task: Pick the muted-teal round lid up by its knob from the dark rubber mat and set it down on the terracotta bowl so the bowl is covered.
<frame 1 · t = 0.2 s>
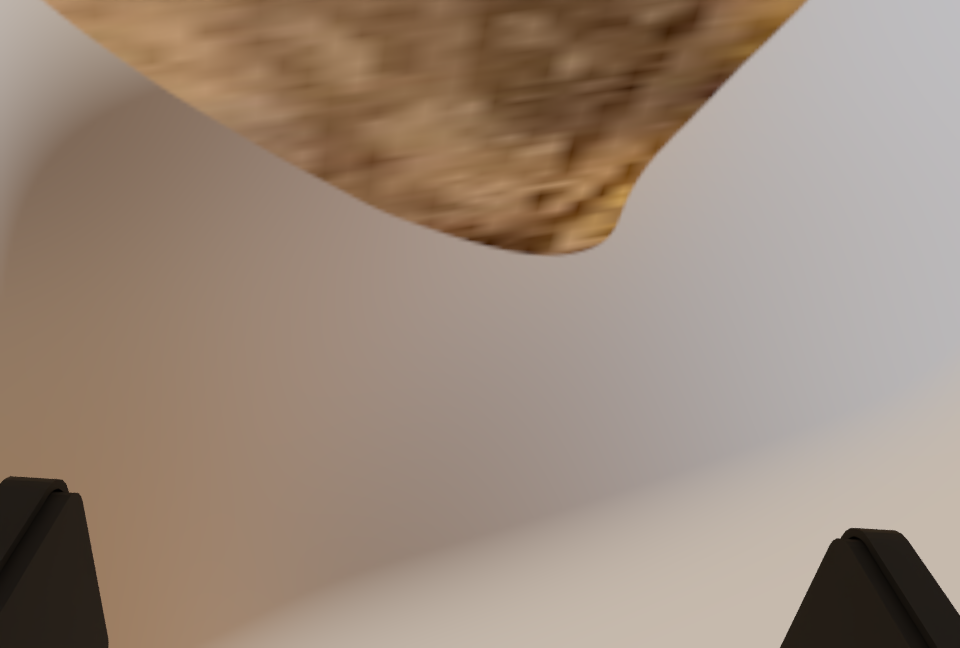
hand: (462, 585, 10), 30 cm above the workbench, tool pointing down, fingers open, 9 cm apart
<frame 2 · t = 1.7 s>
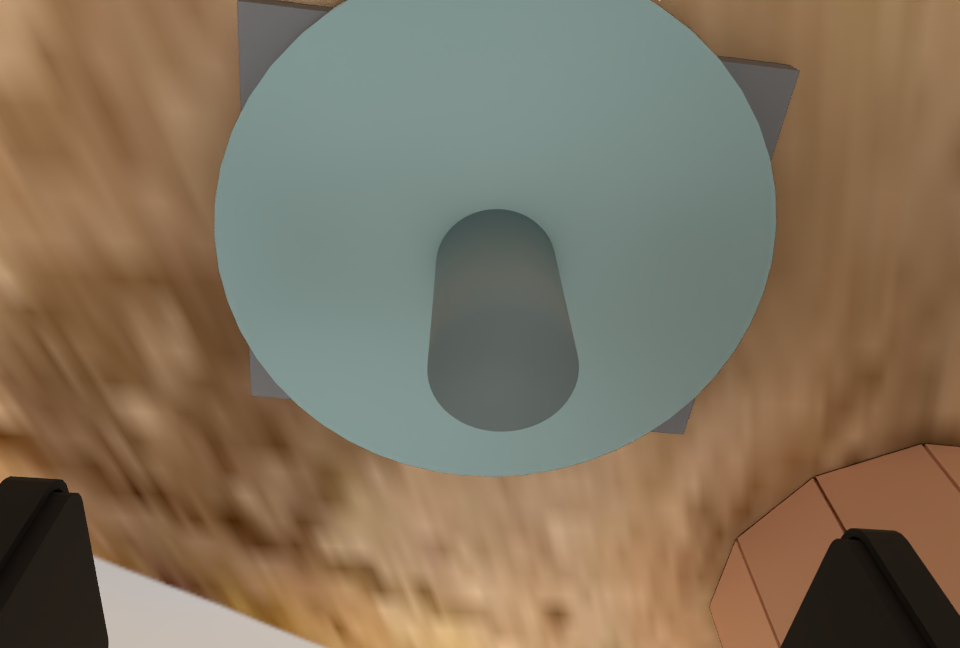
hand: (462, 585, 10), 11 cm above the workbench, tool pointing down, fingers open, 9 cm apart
mat: (494, 241, 19), on the workbench
lid: (494, 250, 19), point 1 cm above the workbench, touching mat
bowl: (896, 587, 26), on the workbench
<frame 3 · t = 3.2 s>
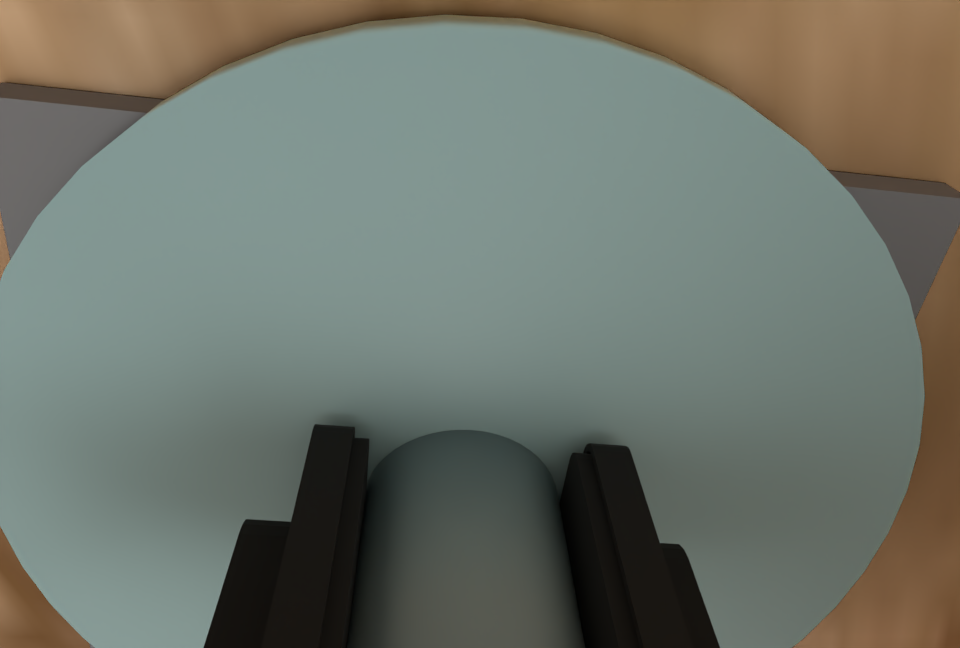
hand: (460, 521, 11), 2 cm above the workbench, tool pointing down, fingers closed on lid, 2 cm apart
mat: (459, 444, 12), on the workbench
lid: (459, 469, 12), point 1 cm above the workbench, touching gripper, mat
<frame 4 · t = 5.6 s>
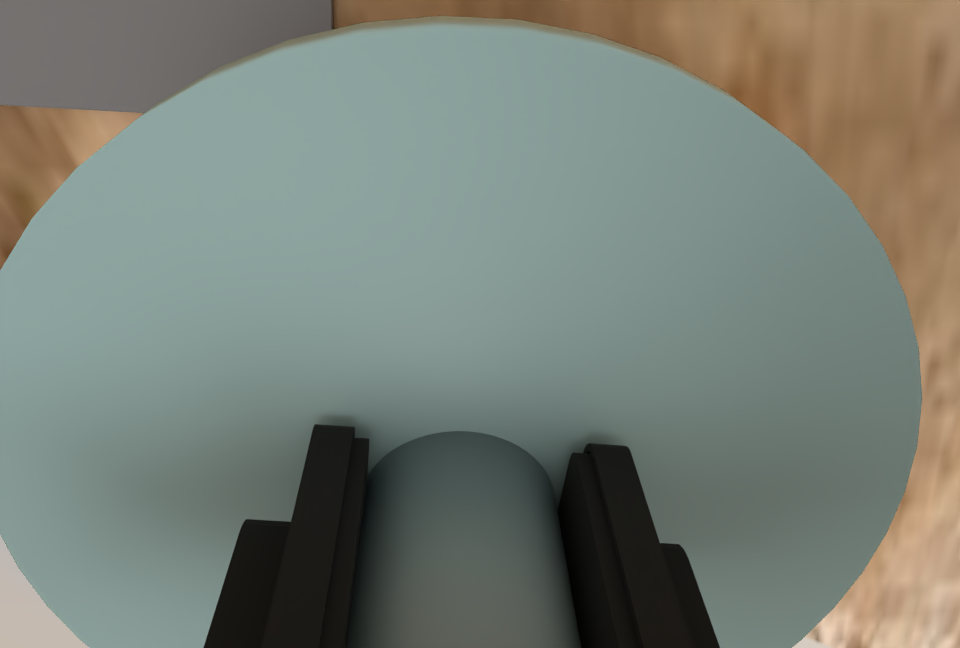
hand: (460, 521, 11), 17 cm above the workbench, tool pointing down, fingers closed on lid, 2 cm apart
lid: (456, 470, 12), point 15 cm above the workbench, touching gripper
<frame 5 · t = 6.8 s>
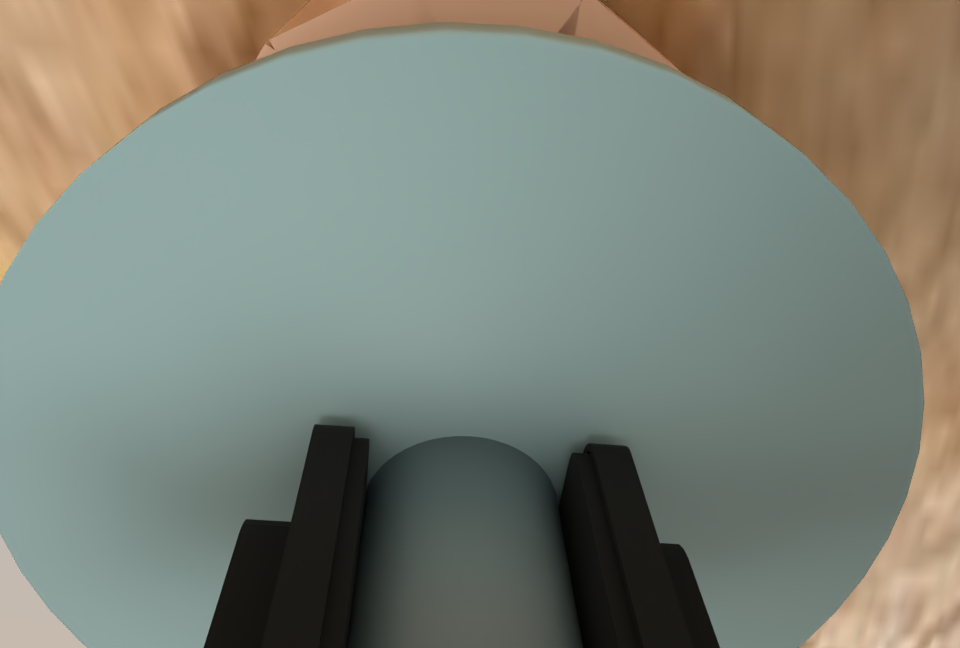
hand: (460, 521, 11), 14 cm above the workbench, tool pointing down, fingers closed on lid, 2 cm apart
lid: (459, 475, 12), point 13 cm above the workbench, touching gripper
bowl: (463, 174, 23), on the workbench
when the fingers open (9 cm above the workbench, at t = 7.9 s): lid drops 1 cm, resting on bowl.
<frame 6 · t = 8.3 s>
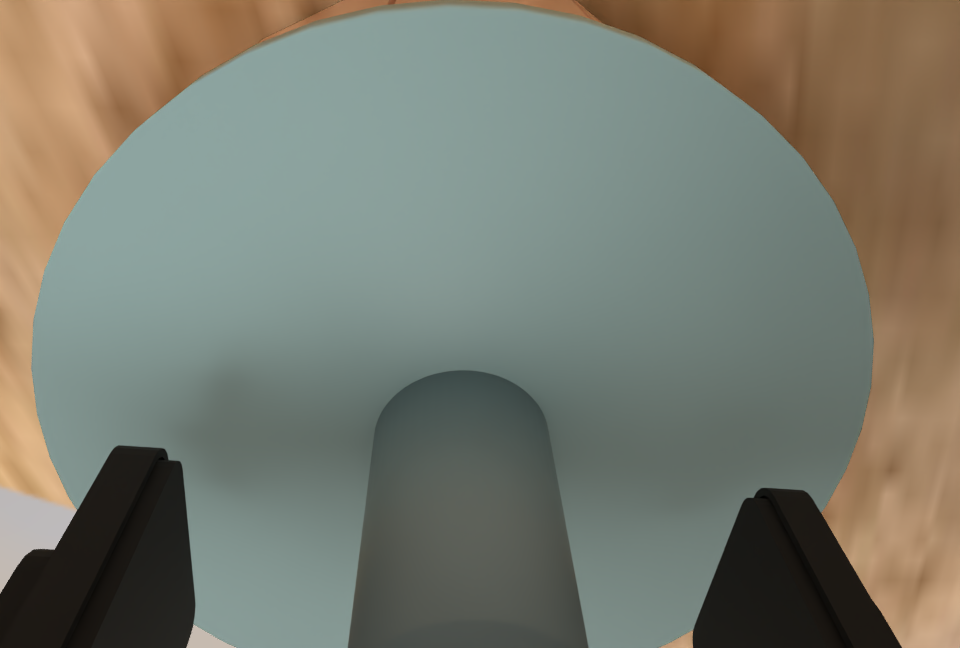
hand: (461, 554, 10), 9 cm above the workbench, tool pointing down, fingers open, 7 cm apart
lid: (460, 412, 13), point 6 cm above the workbench, touching bowl
bowl: (454, 256, 18), on the workbench
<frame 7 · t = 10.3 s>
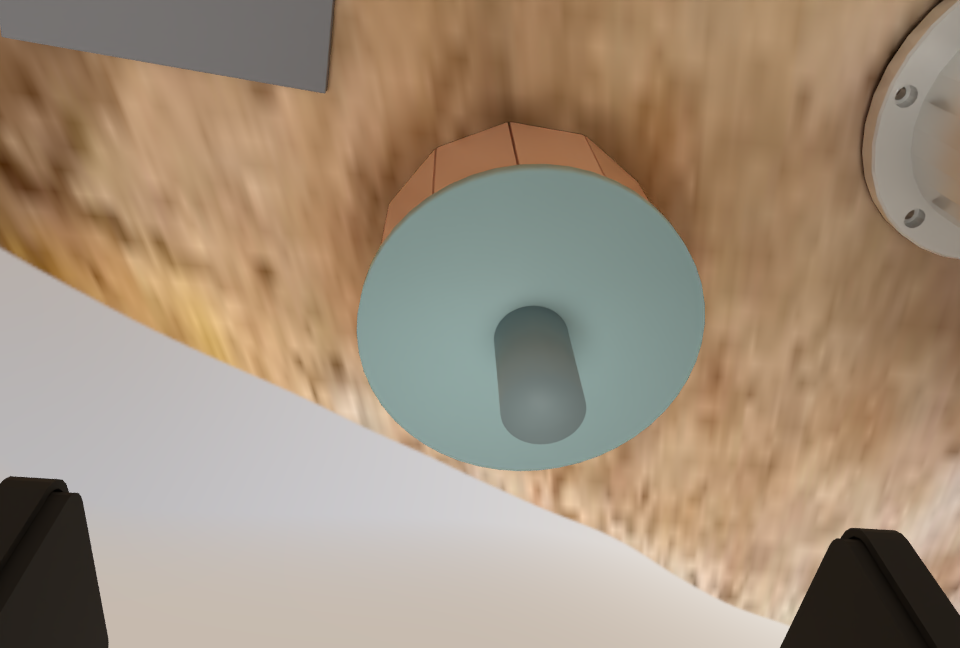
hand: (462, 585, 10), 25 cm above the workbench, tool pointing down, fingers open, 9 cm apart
lid: (529, 327, 30), point 6 cm above the workbench, touching bowl
bowl: (517, 258, 35), on the workbench
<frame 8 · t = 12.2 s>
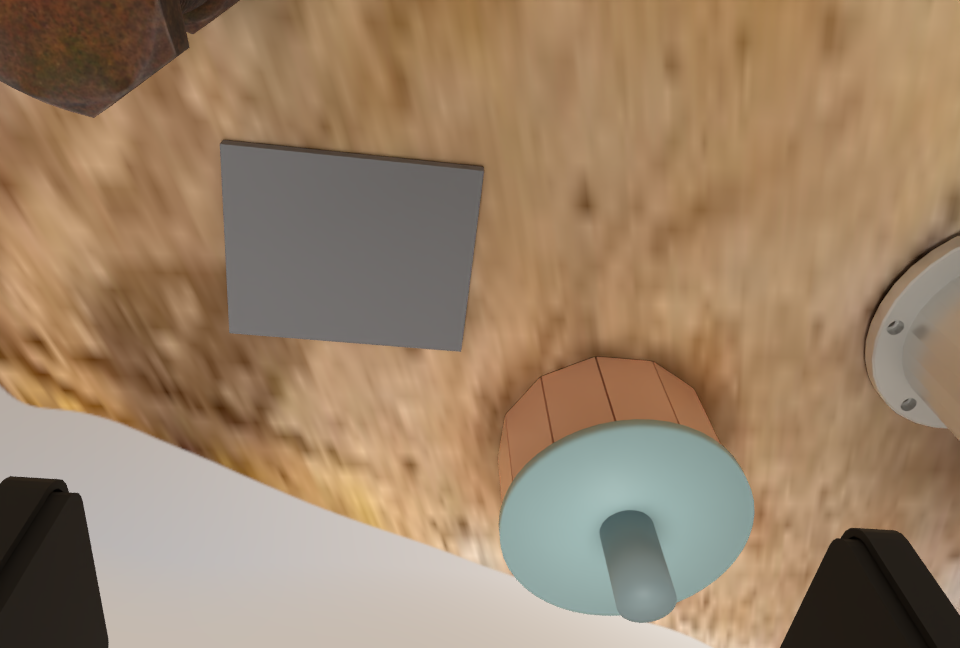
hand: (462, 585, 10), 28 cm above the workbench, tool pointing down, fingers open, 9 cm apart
mat: (351, 250, 38), on the workbench
lid: (623, 519, 40), point 6 cm above the workbench, touching bowl
bowl: (602, 444, 45), on the workbench
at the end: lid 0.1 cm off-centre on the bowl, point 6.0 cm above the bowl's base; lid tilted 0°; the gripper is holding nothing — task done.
